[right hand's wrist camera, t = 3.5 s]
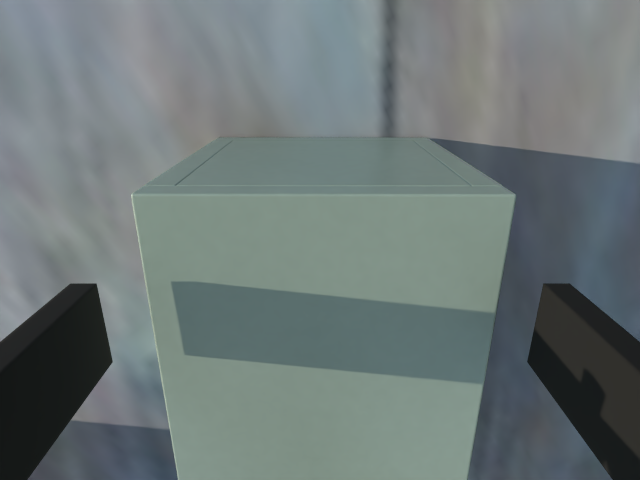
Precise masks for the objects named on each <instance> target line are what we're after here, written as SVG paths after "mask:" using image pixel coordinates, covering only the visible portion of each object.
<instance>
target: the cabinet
mask: <svg viewBox="0 0 640 480" xmlns="http://www.w3.org/2000/svg"><path fill="white" fill-rule="evenodd" d="M131 199H132V205H133V211H134V217H135V223H136V229H137V235H138V241H139V247H140V253H141V259H142V265H143V271H144V277H145V283H146V289H147V295H148V301H149V307H150V313H151V319H152V325H153V331H154V337H155V343H156V349H157V355H158V361H159V367H160V373H161V379H162V385H163V391H164V397H165V403H166V409H167V415H168V421H169V427H170V433H171V439H172V445H173V451H174V457H175V463H176V470H177V476H178V480H468V474H469V468H470V463H471V457H472V451H473V445H474V439H475V434H476V428H477V422H478V416H479V410H480V405H481V399H482V393H483V387H484V382H485V376H486V370H487V364H488V358H489V353H490V347H491V341H492V335H493V329H494V324H495V318H496V312H497V306H498V301H499V295H500V289H501V283H502V277H503V272H504V266H505V260H506V254H507V248H508V243H509V237H510V231H511V225H512V220H513V214H514V208H515V202H516V194H515V193H513V192H511V191H510V190H508V189H507V188H505V187H503V185H501V184H499V183H498V182H496V181H495V180H493V179H492V178H490V177H488V176H487V175H485V174H484V173H482V172H481V171H479V170H477V169H476V168H474V167H473V166H471V165H470V164H468V163H467V162H465V161H463V160H462V159H460V158H459V157H457V156H456V155H454V154H452V153H451V152H449V151H448V150H446V149H445V148H443V147H441V146H440V145H438V144H437V143H435V142H434V141H432V140H430V139H429V138H226V137H219V138H217V139H216V140H214V141H212V142H211V143H209V144H207V145H206V146H204V147H203V148H201V149H200V150H198V151H197V152H195V153H193V154H192V155H190V156H189V157H187V158H186V159H184V160H183V161H181V162H180V163H178V164H176V165H175V166H173V167H172V168H170V169H169V170H167V171H166V172H164V173H163V174H161V175H159V176H158V177H156V178H155V179H153V180H152V181H150V182H149V183H147V184H146V185H144V186H143V187H142V188H140V189H138V190H137V191H135V192H134V193H132V194H131Z"/></svg>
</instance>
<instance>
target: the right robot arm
mask: <svg viewBox="0 0 640 480" xmlns="http://www.w3.org/2000/svg"><path fill="white" fill-rule="evenodd" d="M112 362H113V361H112V357H111V352H110V347H109V342H108V337H107V332H106V327H105V323H104V318H103V313H102V308H101V303H100V298H99V293H98V288H97V284H69V285H68V286H67V287H66V288H65V289H63V290H62V291H61V292H60V293H59V294H57V295H56V296H55V297H54V298H53V299H51V300H50V301H49V302H48V303H47V304H45V305H44V306H43V307H42V308H41V309H39V310H38V311H37V312H36V313H35V314H33V315H32V316H31V317H30V318H29V319H27V320H26V321H25V322H24V323H23V324H21V325H20V326H19V327H18V328H17V329H15V330H14V331H13V332H12V333H11V334H9V335H8V336H7V337H6V338H5V339H3V340H2V341H1V342H0V480H27V479H28V478H29V477H30V475H31V474H32V472H33V471H34V470H35V468H36V467H37V465H38V464H39V463H40V461H41V460H42V459H43V457H44V456H45V454H46V453H47V452H48V450H49V449H50V448H51V446H52V445H53V443H54V442H55V441H56V439H57V438H58V437H59V435H60V434H61V432H62V431H63V430H64V428H65V427H66V425H67V424H68V423H69V421H70V420H71V419H72V417H73V416H74V414H75V413H76V412H77V410H78V409H79V408H80V406H81V405H82V403H83V402H84V401H85V399H86V398H87V397H88V395H89V394H90V392H91V391H92V390H93V388H94V387H95V386H96V384H97V383H98V381H99V380H100V379H101V377H102V376H103V374H104V373H105V372H106V370H107V369H108V368H109V366H110V365H111V363H112ZM527 362H528V363H529V365H530V366H531V368H532V369H533V370H534V372H535V373H536V374H537V376H538V377H539V379H540V380H541V381H542V383H543V384H544V386H545V387H546V388H547V390H548V391H549V392H550V394H551V395H552V397H553V398H554V399H555V401H556V402H557V403H558V405H559V406H560V408H561V409H562V410H563V412H564V413H565V414H566V416H567V417H568V419H569V420H570V421H571V423H572V424H573V426H574V427H575V428H576V430H577V431H578V432H579V434H580V435H581V437H582V438H583V439H584V441H585V442H586V443H587V445H588V446H589V448H590V449H591V450H592V452H593V453H594V454H595V456H596V457H597V459H598V460H599V461H600V463H601V464H602V465H603V467H604V468H605V470H606V471H607V472H608V474H609V475H610V477H611V478H612V479H613V480H640V342H639V341H638V340H637V339H635V338H634V337H633V336H632V335H631V334H629V333H628V332H627V331H626V330H625V329H623V328H622V327H621V326H620V325H619V324H617V323H616V322H615V321H614V320H613V319H611V318H610V317H609V316H608V315H607V314H605V313H604V312H603V311H602V310H601V309H599V308H598V307H597V306H596V305H595V304H593V303H592V302H591V301H590V300H589V299H587V298H586V297H585V296H584V295H583V294H581V293H580V292H579V291H578V290H577V289H575V288H574V287H573V286H572V285H571V284H543V288H542V293H541V298H540V303H539V308H538V313H537V318H536V323H535V327H534V332H533V337H532V342H531V347H530V352H529V357H528V361H527Z"/></svg>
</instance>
